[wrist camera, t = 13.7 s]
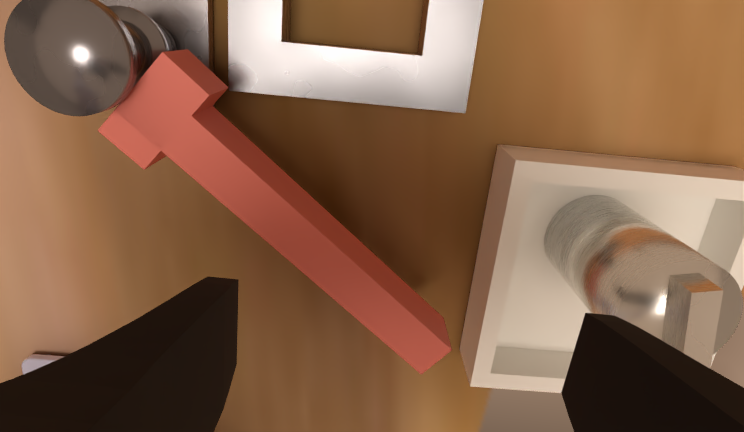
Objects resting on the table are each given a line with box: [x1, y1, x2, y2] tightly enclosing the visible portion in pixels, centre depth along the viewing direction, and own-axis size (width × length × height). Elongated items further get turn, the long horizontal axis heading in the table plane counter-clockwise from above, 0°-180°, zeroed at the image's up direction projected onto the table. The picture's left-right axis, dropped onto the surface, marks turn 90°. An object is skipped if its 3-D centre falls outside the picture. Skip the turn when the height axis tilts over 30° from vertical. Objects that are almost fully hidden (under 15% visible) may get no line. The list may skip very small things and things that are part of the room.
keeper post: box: [4, 0, 215, 116], centre depth 15 cm, size 4×4×6 cm
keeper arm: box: [98, 49, 452, 374], centre depth 16 cm, size 13×3×2 cm, turn 45°
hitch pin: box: [544, 195, 743, 368], centre depth 16 cm, size 4×4×7 cm
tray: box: [460, 144, 744, 393], centre depth 20 cm, size 9×9×2 cm
